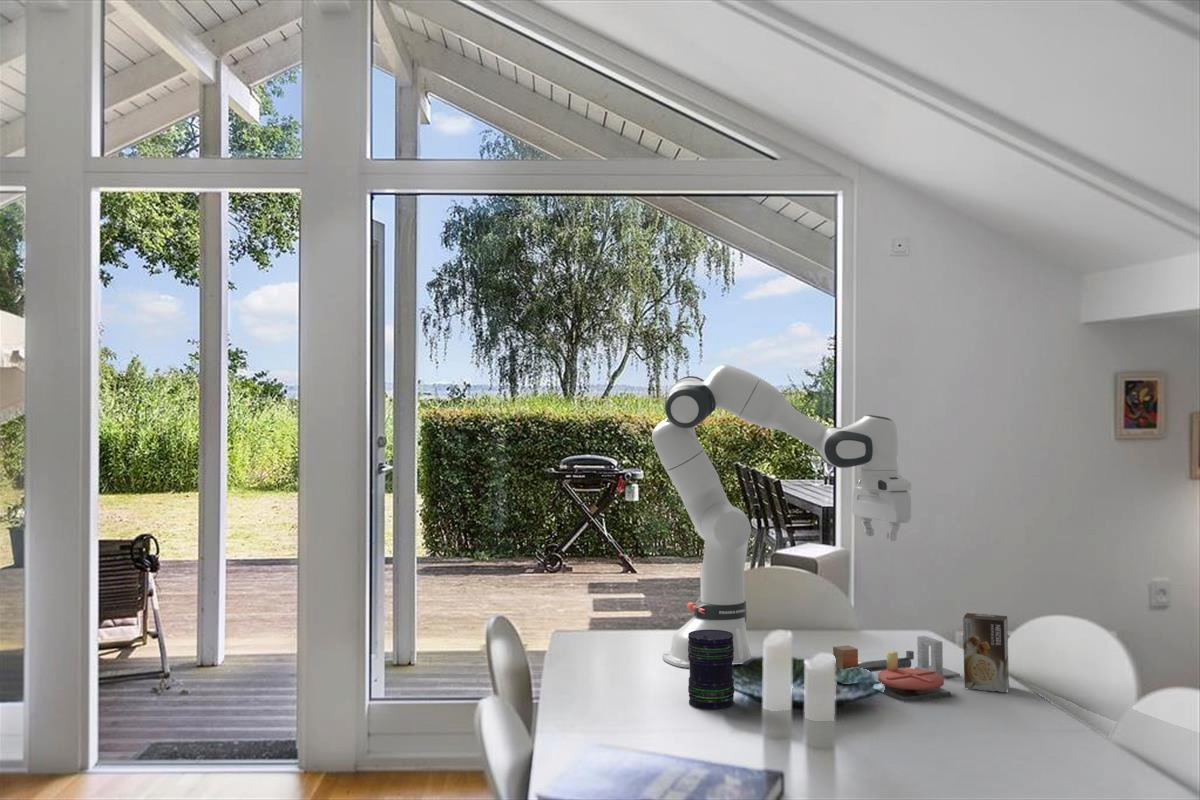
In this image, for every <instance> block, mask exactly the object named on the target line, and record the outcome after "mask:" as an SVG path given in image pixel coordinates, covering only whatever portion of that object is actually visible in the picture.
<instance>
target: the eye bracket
mask: <svg viewBox="0 0 1200 800" xmlns="http://www.w3.org/2000/svg"><path fill="white" fill-rule="evenodd" d="M929 648H930V650H929ZM943 649H944V648H943V641H942V640H939V639H935V638H932V637H929V636H926V635H921V636H917V666H915V667H914V669H921V670H927V671H929V670H932V671H935V673H938V674H940V675H942V676H943V677H944V679H947V677H949V678H957V676H958V677H961V674H960V673H959V672H956V671H954V670H950V669H947V668H945V667H943V664H944V663H943V662H944V661H943V658H944V657H943V653H944V651H943ZM930 660H931V661H930ZM930 664H931V665H930Z"/></svg>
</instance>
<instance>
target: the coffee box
mask: <svg viewBox="0 0 1200 800" xmlns="http://www.w3.org/2000/svg"><path fill="white" fill-rule="evenodd" d="M1008 626H1009V625H1008V616H1007V615H998V614H997V615H996V614H989V613H988V614H987V613H985V614H984V613H970V612H966V613H965V614H964V616H963V618H962V633H963V635H962V636H963V637H962V639H963V643H962V644H963V676H964V679H963V680H964V682H963V683H964V689H965V688H968V689H967V690H975V689H979V690H978V691H985V690H989V691H988V692H994V691H998V692H997V693H1004V692H1006V693H1007V692H1008V690H1009V689H1008V688H1010V678H1009V677H1010V676H1009V640H1008V639H1009V638H1008V637H1009V636H1008V635H1009V634H1008V633H1009V632H1008V629H1009V627H1008ZM999 691H1000V692H999Z"/></svg>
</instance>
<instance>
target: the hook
mask: <svg viewBox="0 0 1200 800" xmlns="http://www.w3.org/2000/svg"><path fill="white" fill-rule="evenodd" d="M832 647H833V648H832V649H833V650H832V656H833V655H834V656H835V658H836V664H837V668H840V669H846V668H851V667H859V668H863V669H867V670H869V671H870V672H869V673H874V672H881V671H883V670H887V659H879V660H878V659H877V660H869V661H861V662H860V661H859V653H858V652H859V649H858V648H857V647H854V646H851V645H836V646H832ZM905 652H906V653H905V654H906V656H905V657H898V668H911V666H912V660H914V658H915V657H914V656H915V653H914V651H913V650H906V651H905Z"/></svg>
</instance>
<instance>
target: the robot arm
mask: <svg viewBox="0 0 1200 800" xmlns="http://www.w3.org/2000/svg"><path fill="white" fill-rule="evenodd" d="M715 409H721V410H724V411H726V412H729V413H730V414H732V415H734V416H735V417H738V419H741V420H743V421H745V422H747V423H749V424H752V425H755V426H757V427H762V428H764V429H773V430H778V431H780V432H783V433H786V434H788V435H790V436H791V437H793V438H796V439H797V440H799V441H801V442H803V444H806V445H808V446H809V447H810V448H812V449H813V450H814V451H815V452H816V454H818V456H819V458H821V459H822V460H821V461H823V462H824V463H825V464H827V465H829V466H830V467H834V468H837V469H838V468H839V469H849V468H853V467H857V466H860V479H858V480H857V481H856V483H854V484H855V485H854V489H853V491H852V496H851V513H852V515H853V517H858V518H860V519H861V520H860V521H861V524H862V527H863V529H864V536H865V537H874V535H875V533H874V532H875V529H874V528H873V527H872V523H871V522H872V520H875V521H876V520H877V521H882V522H888V526H889V530H888V531H889V532H887V533H886V540H888V541H890V542H892V541H893V542H894V541H897V537H898V536H897V534H898V531H899V529H900V528H901V524H906V523H907V524H908V523H909V522H910V520H911V517H912V497H911V493H910V492H909V491H911V490H912V482H911V481H909V480H908V479H906V478H905V477H903V476H902V475H901V474H900V473H899V466H898V461H897V459H898V458H897V457H898V454H899V442H898V441H899V439H898V431H897V426H896V423H895V421H893V419H891V418H889V417H886V416H880V415H873V414H867V415H865V414H864V415H863V417H862V418H860V419H858V420H857V421H855V422H853V423H851V424H849V425H846V426H845V427H838V426H837V427H836V426H827V425H826V424H825V425H824V424H822V423H820V422H819V421H816V420H815V419H813V418H811V417H809V416H807V415H806V414H805V413H802V412H801V411H799V410H798V409H796V408H795V407H793V405H792V404H791V403H790V402H789V401H788V400H787V398H786V396H785V395H784V394H783V393H782V392H781V391H779V389H777V388H776V387H775V386H773V385H772V384H771V383H770V382H768V381H766V380H764V379H763V378H760V377H759V376H757V375H755V374H753V373H752V372H749V371H746V370H744V369H741V368H739V367H736V366H733V365H729V364H721V365H719V366H716V368H714V369H713V370H712V371H711V373H710V374H709V376H708V377H707V378H706V379H705V380H704V379H703V378H701V377H698V376H694V375H693V376H692V375H691V376H690V375H689V376H685V377H681V378H680V379H679V380H677V381H676V382H675V383H674V384H673V385H672V386H671V387H670V388H669V391H668V392H667V395H666V398H665V401H664V412H665V415H666V418H664V419H663V420H661V421H660V422H659V423H658V424H657V425H655V427H654V429H653V431H652V433H651V440H652V443H653V446H654V448H655V452H656V454H657V456H658V458H659V460H660V463H661V464H662V466H663V468H664V471H665V472H666V474H667V475H668V477H669V479H670V481H671V483H672V484H673V486H674V488H675V489H676V491H677V493H678V495H679V497H680V499H681V501H682V502H683V505H684V507H685V510H686V512H687V514H688V517H689V518H690V521H691V522H692V525H693V527H694V529H695V531H696V532H697V534H698V536H699V537H700V538H701V539H702V540H704V552H703V558H702V559H703V560H702V565H701V567H700V600H699V601H698V603H697V604H695V602H694V603H693V602H692V601H691V602H690V601H689V602H688V603H687V604H686V609H687V610H688V611H691V612H694V613H693V614H694V616H693V617H692V618H690V619H689V620H688V621H687V622H686V623H685V624H684V625H682V626H681V627H680V628H679V629H677V631H675V632H674V634H673V636H672V638H671V639H672V640H671V645H670V651H665V652H662V660H663V661H665V662H666V663H667V664H670V665H673V666H676V667H680V668H689V669H690V661H689V659H688V653H689V652H688V640H689V638H688V633H690V632H692V631H697V630H723V631H728V632H731V633H732V634H733V646H734V652H733V656H734V658H733V662H732V663H745V662H748V661H750V660H751V659H752V653H751V651H750V647H749V641H748V635H747V634H748V633H747V629H746V623H747V602H746V600H745V568H746V562H747V561H746V560H747V555H748V550H749V549H748V546H749V540H750V537H751V534H752V526H751V522H750V520H749V518H748V516H747V515H746V513H745V512H744V511H743V510H742V509H740V508H738V507H736V506H734V505H732V503H731V502H730V500H729V499H728V497H727V493H726V492H725V489H724V487H723V485H722V482H721V479H720V476H719V474H718V472H717V470H716V468H715V467H714V465H713V463H712V462H711V460H710V458H709V456H708V454H707V453H706V451H705V449H704V448H703V445H702V444H701V442H700V441H699V439H698V436H697V434H696V430H695V428H696V427H697V426H699V425H700V424H701V423H703V422H704V421H705V420H706V419H707V418H708V417H709V416H710V415H711V414H712V413H713V412H715Z"/></svg>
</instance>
